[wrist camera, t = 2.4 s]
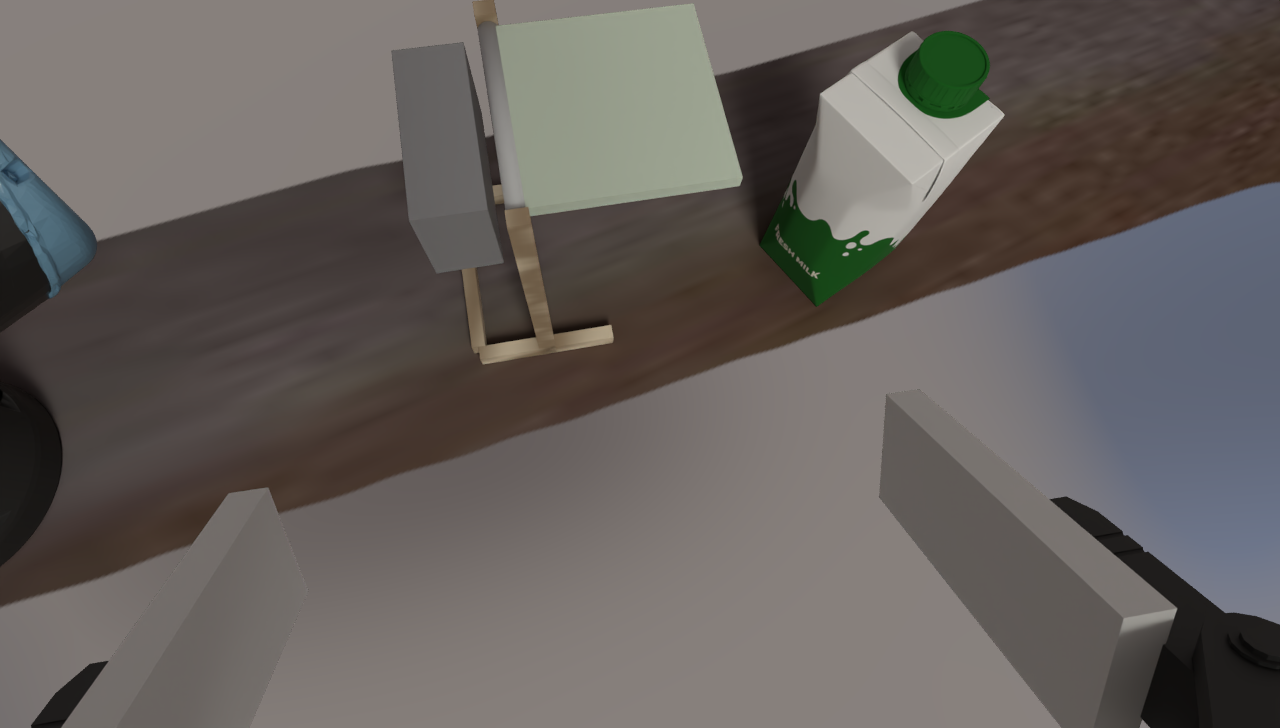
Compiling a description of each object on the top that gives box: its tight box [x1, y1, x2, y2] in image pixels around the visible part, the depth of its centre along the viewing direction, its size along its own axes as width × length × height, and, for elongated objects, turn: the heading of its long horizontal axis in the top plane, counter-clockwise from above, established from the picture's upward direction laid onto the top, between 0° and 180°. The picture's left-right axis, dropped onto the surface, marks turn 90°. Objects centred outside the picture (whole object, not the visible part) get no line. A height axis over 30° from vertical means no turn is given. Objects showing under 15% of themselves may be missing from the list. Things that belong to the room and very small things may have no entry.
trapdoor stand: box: [462, 0, 613, 364], centre depth 45 cm, size 10×15×19 cm
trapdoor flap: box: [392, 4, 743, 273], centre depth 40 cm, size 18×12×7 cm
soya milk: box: [760, 31, 1004, 307], centre depth 46 cm, size 9×9×20 cm
